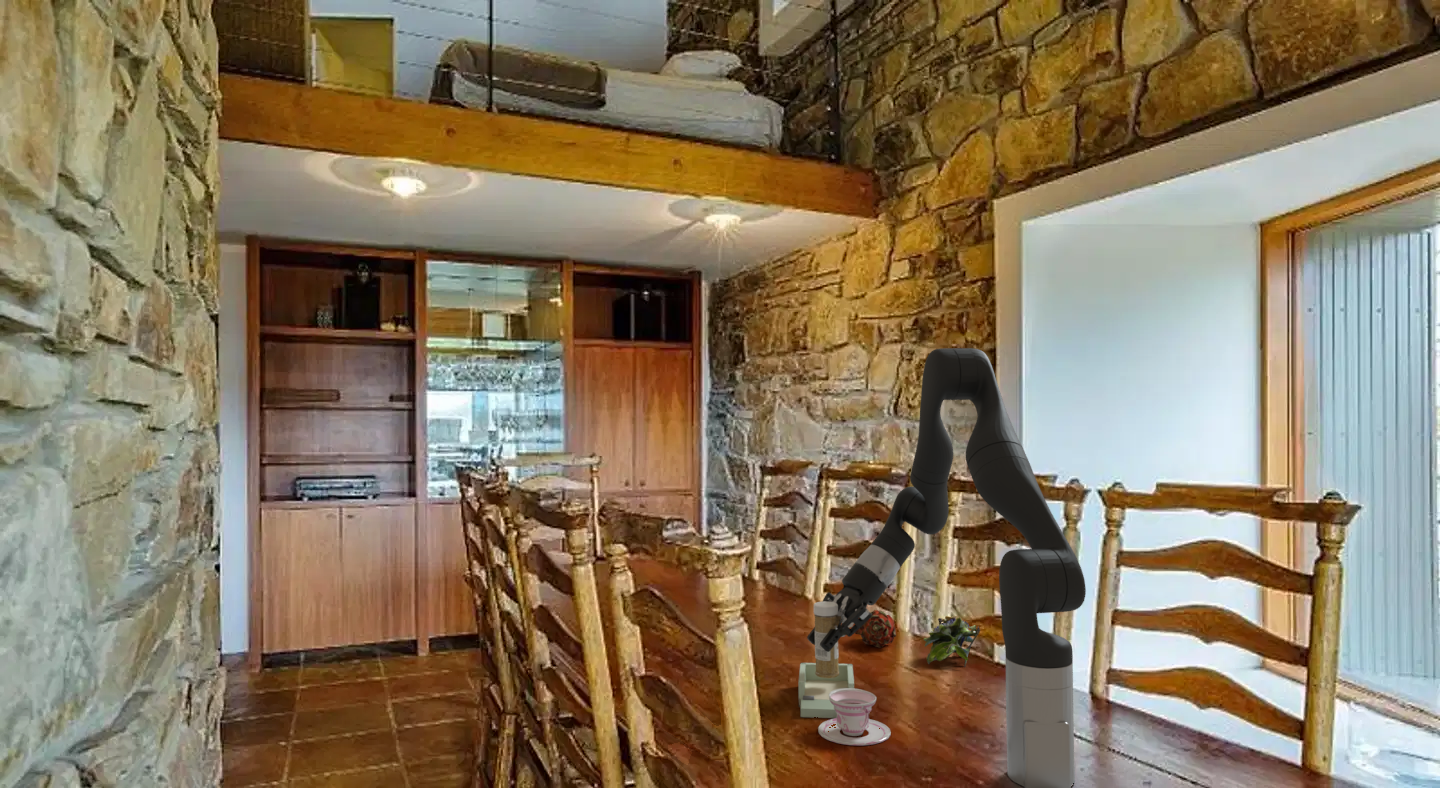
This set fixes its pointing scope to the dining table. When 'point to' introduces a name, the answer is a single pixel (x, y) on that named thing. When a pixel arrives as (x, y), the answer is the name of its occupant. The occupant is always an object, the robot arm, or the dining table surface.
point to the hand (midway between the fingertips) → (817, 644)
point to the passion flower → (950, 639)
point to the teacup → (853, 718)
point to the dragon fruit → (878, 630)
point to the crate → (821, 690)
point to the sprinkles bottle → (823, 624)
